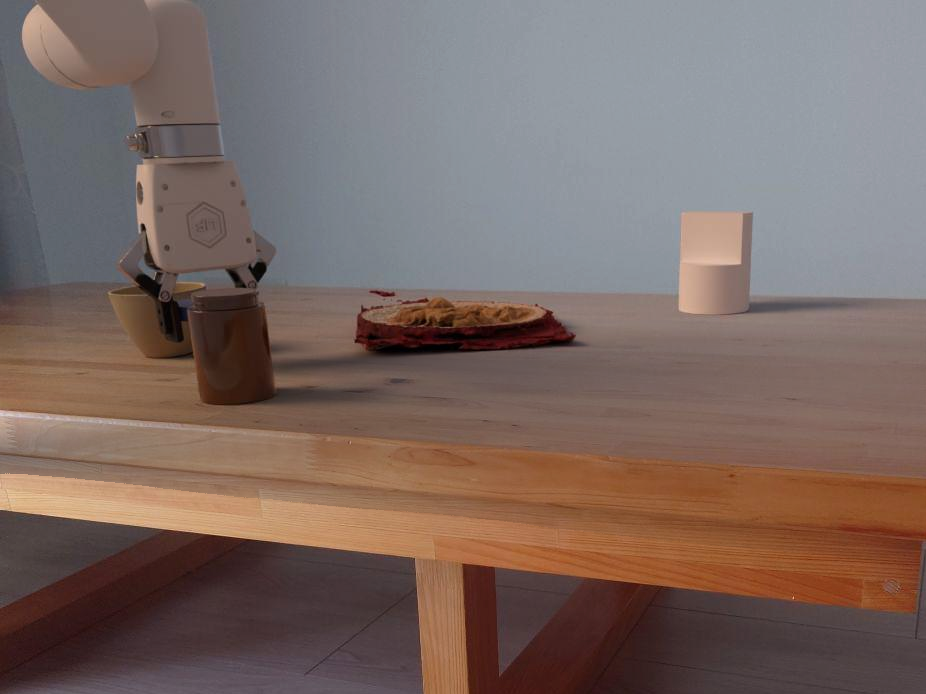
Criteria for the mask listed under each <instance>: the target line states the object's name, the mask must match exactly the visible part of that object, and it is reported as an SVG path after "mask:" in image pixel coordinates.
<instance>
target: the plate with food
mask: <svg viewBox="0 0 926 694" xmlns="http://www.w3.org/2000/svg"><path fill="white" fill-rule="evenodd" d="M368 293H369V294H374V295H375V294H376V295H378V296H380V297H383V299H382V300H383V301H385V300H386V298H389V297H396V293H395V291H391V292H389V291H384V290H377V289H375V290H373V289H371V290H369V291H368ZM390 301H393V299H390ZM396 302H401V303H399V304H389V305H384V306H383V304H381V305H377V306H374V305H371V306H370V308H366V307H364V305H363V304H361V305H360V308H361V310H360V312H359V313H358V314H357V315H356V332H355V338H354V340H353V341H354V344H361V346H362V348H364V350H365V351H368V350H371V351H372V350H373V351H375V350H380V349H387V348H389V347H393V346H397V345H401V346H403V347H405V348H411V349H412V348H418V347H423V348H424V347H425V346H424V345H445V344H448V345H451V344H462V345H461V346H460V347H458V348H457V349H458V350H462V349H463V350H467V349H468V350H470V349H471V350H483V349H486V350H488V349H489V350H497V349H499V350H501V349H507V350H508V349H509V348H521V347H530V345H531V346H540V345H546V344H549V343H551V342H552V341H554V342H557V341H574V340H575V339H576V336H577V334H574V333H573V332H569V334H568V333H567V329H566V326H565V325H562V322H561V321H558V320H557V319H555V316H554V315H553V314H554V311H552V310H549V309H547V308H544V307H543V306H539V305H538V303H535V304H534V305H533V304H526V303H525V304H522V303H516V302H515V303H511V302H505V301H502V302H501V301H498V302H495V301H485V300H484V301H471V300H464V301H462V300H457V301H454V300H452V301H449V300H447V299H446V298H444V297H441V296H437V297H433V298H432V299H430V300H429V298H427V297H424V298H420V299H418V300H412V301H410V300H409V299H407V300H406V301H403V300H401V299H396ZM422 345H423V346H422ZM450 349H452V347H450Z"/></svg>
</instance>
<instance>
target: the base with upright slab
mask: <svg viewBox="0 0 926 694" xmlns="http://www.w3.org/2000/svg"><path fill="white" fill-rule="evenodd" d="M753 220H754V211H718V210H717V211H715V210H713V211H711V210H710V211H709V210H708V211H706V210H705V211H703V210H699V211H698V210H691V211H690V210H689V211H684V212H681V213H680V248H679V249H680V253H679V255H680V257H679V271H678V272H679V273H678V274H679V279H678V311H679V312H682V313H685V314H693V315H704V316H705V315H707V316H709V315H710V316H712V315H713V316H717V315H734V314H742V313H746V312H747V311H749V310H750V292H751V291H750V288H751V267H752V244H753V222H754V221H753Z"/></svg>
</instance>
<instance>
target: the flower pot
mask: <svg viewBox="0 0 926 694" xmlns="http://www.w3.org/2000/svg"><path fill="white" fill-rule="evenodd" d="M203 290H207V285H206V283H203V282H196V281H176V284H175V287H174V290H173V294H172V297H173V301H178V300H183V299H189V298H191V294H192V293H194V292H198V291H203ZM107 293H108V294H107V295H108V297H109V300H110V303H111V306H112V308H113V311H114V313H115V315H116V317H117V318H118V321H119V323H120V324H121V326H122V328H123V329H124V331H125V332H126V335H127V336H128V337H129V339H130V340H131V341H132V343H133V344H134V345H135V346H136V348H137V349H139V351H140V352H141V353H142V354H143V356H145V357H146V358H147V357H148V358H153V359H159V358H161V359H162V358H174V357H180V356H184V355H185V356H186V355H189V354H190V353H193V348H192V342H191V335H190V328H189V322H185V321H181V323H182V329H183V335H184V341H182V342H179V343H175V342H172V341H168V340H166V338H165V335H164V334H162V333H161V332H160V329H159V323H158V317H157V311H156V306H155V300H154V299H151V298H150V297H149V295H148V294H146V293H145V292H144V291H142V290H141V289H140V288H138V287H137V286H136V285H130V286H125V287H120V288H119V287H118V288H115V289H113V290H110V291H108V292H107Z"/></svg>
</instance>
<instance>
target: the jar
mask: <svg viewBox="0 0 926 694" xmlns="http://www.w3.org/2000/svg"><path fill="white" fill-rule="evenodd" d="M259 296H260V291H259V290H258V289H252V288H235V287H225V288H212V289H206V290H203V291H198V292H194V293H192V294H191V301H192V302H190V304H191V305H192V306H191V307H189V308H187V315H188V322H189V328H190V335H191V342H192V348H193V351H192V354H193V360H194V368H195V374H196V381H197V386H198V394H199V399H200V401H201V402H203V403H204V404H205V403H206V404H209V405H219V406H221V405H222V406H223V405H224V406H226V405H231V406H232V405H242V404H251V403H257V402H260V401H264V400H268V399H270V398H273V397H274V396H275V395H276V394H277V389H276V380H275V374H274V373H275V372H274V365H273V357H272V349H271V348H272V347H271V342H270V333H269V326H268V316H267V308H266V303H265V302H262V301H259V299H260V298H259Z"/></svg>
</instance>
